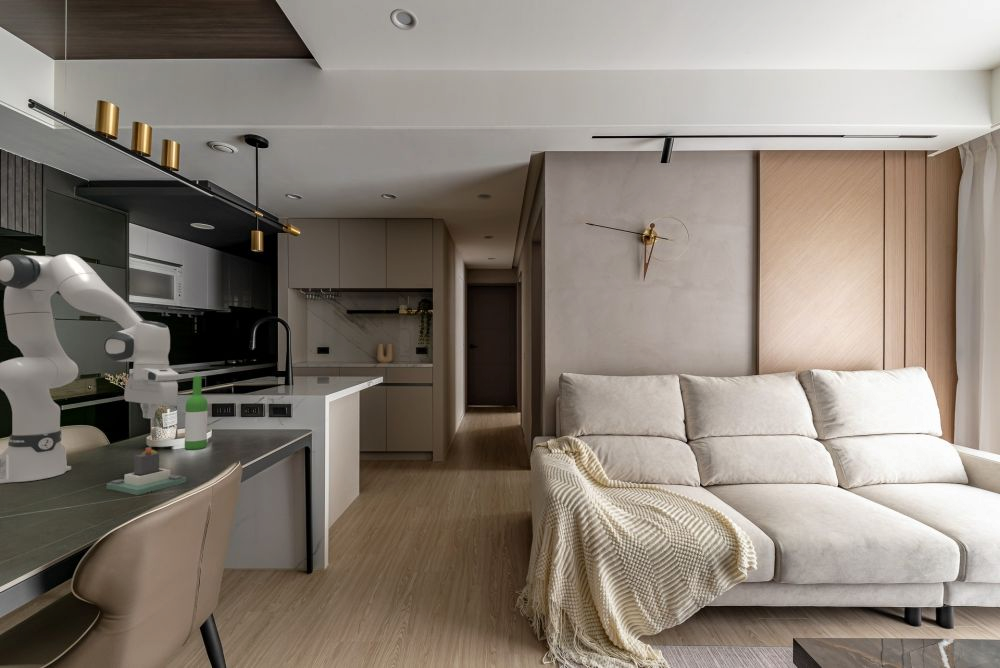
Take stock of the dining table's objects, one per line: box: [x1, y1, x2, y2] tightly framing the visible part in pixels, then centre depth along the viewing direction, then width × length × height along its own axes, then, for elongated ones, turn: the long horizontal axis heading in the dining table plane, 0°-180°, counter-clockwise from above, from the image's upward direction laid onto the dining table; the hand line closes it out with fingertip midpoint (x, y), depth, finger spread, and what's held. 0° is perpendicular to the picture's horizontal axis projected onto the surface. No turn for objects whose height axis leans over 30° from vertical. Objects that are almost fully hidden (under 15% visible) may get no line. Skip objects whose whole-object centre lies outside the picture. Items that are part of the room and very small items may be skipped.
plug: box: [133, 446, 160, 476], centre depth 144 cm, size 4×6×10 cm, turn 158°
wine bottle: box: [184, 375, 208, 451], centre depth 195 cm, size 8×8×30 cm
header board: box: [106, 467, 187, 496], centre depth 144 cm, size 15×14×4 cm
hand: (148, 418), depth 145 cm, fingers closed
